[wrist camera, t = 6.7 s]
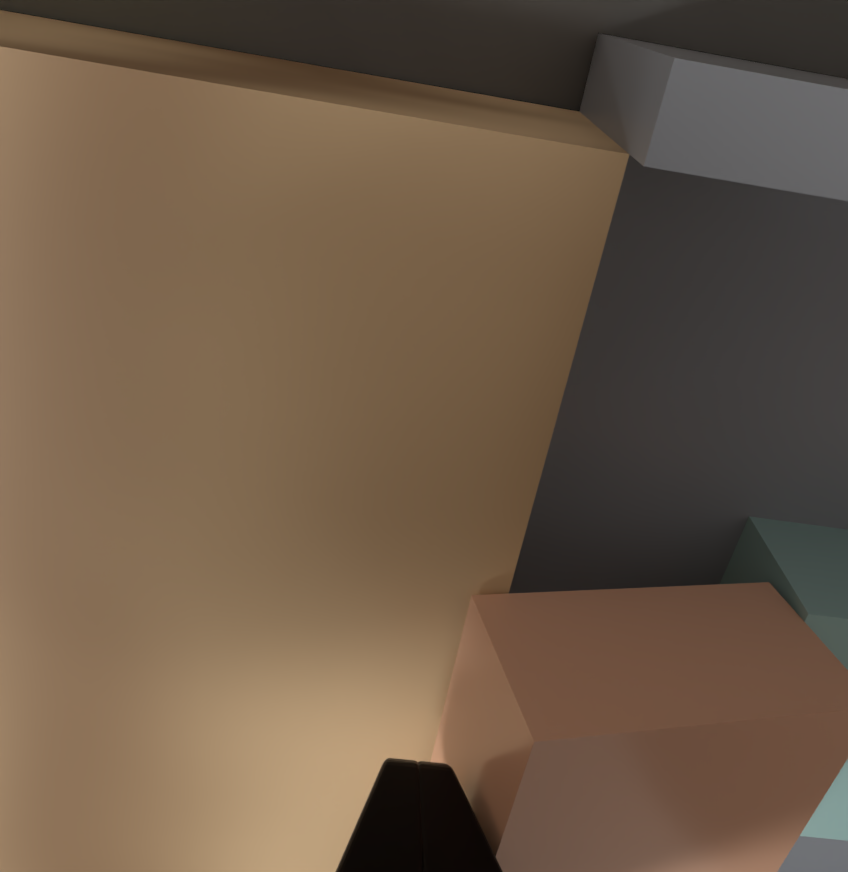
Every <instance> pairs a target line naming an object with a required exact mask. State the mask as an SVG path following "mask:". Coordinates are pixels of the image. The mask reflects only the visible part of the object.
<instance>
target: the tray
mask: <svg viewBox="0 0 848 872" xmlns="http://www.w3.org/2000/svg"><path fill="white" fill-rule="evenodd" d="M579 112H581V113H582V114H583V115H584V116H585V117H586V118H588V119H589V120H590V121H591V122H592V123H593V124H595V125H596V126H597V127H598V128H599V129H600V130H602V131H603V132H604V133H605V134H606V135H607V136H609V137H610V138H611V139H612V140H613V141H614V142H616V143H617V144H618V145H619V146H620V147H621V148H623V149H624V150H625V151H626V152H627V153H628V154H629V158H628V162H627V165H626V169H625V173H624V176H623V180H622V183H621V187H620V191H619V194H618V198H617V202H616V205H615V209H614V213H613V216H612V220H611V223H610V227H609V231H608V234H607V238H606V242H605V245H604V249H603V252H602V256H601V260H600V263H599V267H598V271H597V274H596V278H595V281H594V285H593V289H592V292H591V296H590V300H589V303H588V307H587V311H586V314H585V318H584V321H583V325H582V329H581V332H580V336H579V340H578V343H577V347H576V350H575V354H574V358H573V361H572V365H571V369H570V372H569V376H568V380H567V383H566V387H565V390H564V394H563V398H562V401H561V405H560V409H559V412H558V416H557V419H556V423H555V427H554V430H553V434H552V438H551V441H550V445H549V448H548V452H547V456H546V459H545V463H544V467H543V470H542V474H541V478H540V481H539V485H538V488H537V492H536V496H535V499H534V503H533V507H532V510H531V514H530V517H529V521H528V525H527V528H526V532H525V536H524V539H523V543H522V546H521V550H520V554H519V557H518V561H517V565H516V568H515V572H514V576H513V579H512V583H511V586H510V590H509V594H510V593H533V592H555V591H578V590H601V589H624V588H646V587H669V586H692V585H715V584H720V582H721V580H722V577H723V575H724V573H725V571H726V568H727V566H728V564H729V561H730V559H731V557H732V555H733V552H734V550H735V548H736V545H737V543H738V541H739V538H740V536H741V534H742V532H743V529H744V527H745V525H746V522H747V520H748V518H749V516H750V517H757V518H765V519H772V520H780V521H787V522H795V523H802V524H810V525H817V526H825V527H832V528H839V529H847V530H848V79H845V78H840V77H835V76H829V75H824V74H818V73H813V72H807V71H802V70H796V69H791V68H786V67H780V66H775V65H769V64H764V63H758V62H753V61H748V60H742V59H737V58H731V57H726V56H720V55H715V54H709V53H704V52H699V51H693V50H688V49H682V48H677V47H671V46H666V45H661V44H655V43H650V42H644V41H639V40H633V39H628V38H622V37H617V36H612V35H606V34H601V33H598V36H597V41H596V45H595V49H594V53H593V57H592V61H591V66H590V70H589V74H588V78H587V82H586V86H585V90H584V95H583V99H582V103H581V107H580V111H579ZM777 872H848V841H845V840H836V839H826V838H816V837H806V836H799V838H798V839H797V841H796V842H795V844H794V846H793V847H792V849H791V850H790V852H789V854H788V855H787V857H786V858H785V860H784V862H783V863H782V865H781V866H780V868H779V870H778V871H777Z"/></svg>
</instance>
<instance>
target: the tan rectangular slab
mask: <svg viewBox="0 0 848 872" xmlns="http://www.w3.org/2000/svg"><path fill="white" fill-rule="evenodd" d="M628 158H629V154H628V153H627V152H626V151H625V150H624V149H623V148H621V147H620V146H619V145H618V144H617V143H616V142H614V141H613V140H612V139H611V138H610V137H609V136H607V135H606V134H605V133H604V132H603V131H602V130H600V129H599V128H598V127H597V126H596V125H595V124H593V123H592V122H591V121H590V120H589V119H588V118H586V117H585V116H584V115H583V114H582V113H581V112H579V111H573V110H568V109H562V108H556V107H551V106H545V105H539V104H533V103H528V102H522V101H516V100H511V99H505V98H499V97H493V96H488V95H482V94H476V93H471V92H465V91H459V90H454V89H448V88H442V87H436V86H431V85H425V84H419V83H414V82H408V81H402V80H396V79H391V78H385V77H379V76H374V75H368V74H362V73H357V72H351V71H345V70H339V69H334V68H328V67H322V66H317V65H311V64H305V63H300V62H294V61H288V60H282V59H277V58H271V57H265V56H260V55H254V54H248V53H242V52H237V51H231V50H225V49H220V48H214V47H208V46H203V45H197V44H191V43H185V42H180V41H174V40H168V39H163V38H157V37H151V36H145V35H140V34H134V33H128V32H123V31H117V30H111V29H106V28H100V27H94V26H88V25H83V24H77V23H71V22H66V21H60V20H54V19H48V18H43V17H37V16H31V15H26V14H20V13H14V12H9V11H3V10H0V872H336V869H337V867H338V865H339V862H340V860H341V858H342V856H343V853H344V851H345V849H346V846H347V844H348V842H349V839H350V837H351V835H352V833H353V830H354V828H355V826H356V823H357V821H358V819H359V816H360V814H361V812H362V810H363V807H364V805H365V803H366V800H367V798H368V796H369V793H370V791H371V789H372V787H373V784H374V782H375V780H376V777H377V775H378V773H379V770H380V768H381V766H382V764H383V762H384V761H385V760H386V759H387V758H397V759H407V760H415V761H417V762H418V761H427V762H430V761H431V757H432V753H433V749H434V745H435V741H436V737H437V733H438V729H439V725H440V721H441V717H442V713H443V709H444V705H445V701H446V697H447V693H448V689H449V684H450V680H451V676H452V672H453V668H454V664H455V660H456V656H457V652H458V648H459V644H460V640H461V636H462V632H463V628H464V624H465V620H466V616H467V612H468V608H469V604H470V600H471V596H472V595H487V594H509V590H510V586H511V583H512V579H513V576H514V572H515V568H516V565H517V561H518V557H519V554H520V550H521V546H522V543H523V539H524V536H525V532H526V528H527V525H528V521H529V517H530V514H531V510H532V507H533V503H534V499H535V496H536V492H537V488H538V485H539V481H540V478H541V474H542V470H543V467H544V463H545V459H546V456H547V452H548V448H549V445H550V441H551V438H552V434H553V430H554V427H555V423H556V419H557V416H558V412H559V409H560V405H561V401H562V398H563V394H564V390H565V387H566V383H567V380H568V376H569V372H570V369H571V365H572V361H573V358H574V354H575V350H576V347H577V343H578V340H579V336H580V332H581V329H582V325H583V321H584V318H585V314H586V311H587V307H588V303H589V300H590V296H591V292H592V289H593V285H594V281H595V278H596V274H597V271H598V267H599V263H600V260H601V256H602V252H603V249H604V245H605V242H606V238H607V234H608V231H609V227H610V223H611V220H612V216H613V213H614V209H615V205H616V202H617V198H618V194H619V191H620V187H621V183H622V180H623V176H624V173H625V169H626V165H627V162H628Z"/></svg>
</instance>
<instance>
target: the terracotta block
mask: <svg viewBox="0 0 848 872" xmlns="http://www.w3.org/2000/svg"><path fill="white" fill-rule="evenodd" d="M847 759H848V670H847V669H846V668H845V667H844V666H843V664H842V663H841V662H840V661H839V660H838V659H837V658H836V657H835V655H834V654H833V653H832V652H831V651H830V650H829V649H828V648H827V646H826V645H825V644H824V643H823V642H822V641H821V640H820V639H819V637H818V636H817V635H816V634H815V633H814V632H813V631H812V630H811V628H810V627H809V626H808V625H807V624H806V623H805V622H804V621H803V620H802V618H801V617H800V616H799V615H798V614H797V613H796V612H795V611H794V609H793V608H792V607H791V606H790V605H789V604H788V603H787V602H786V600H785V599H784V598H783V597H782V596H781V595H780V594H779V593H778V591H777V590H776V589H775V588H774V587H773V586H772V585H771V584H770V582H760V583H737V584H715V585H692V586H669V587H646V588H624V589H601V590H578V591H555V592H533V593H510V594H487V595H472V596H471V600H470V604H469V608H468V612H467V616H466V620H465V624H464V628H463V632H462V636H461V640H460V644H459V648H458V652H457V656H456V660H455V664H454V668H453V672H452V676H451V680H450V684H449V689H448V693H447V697H446V701H445V705H444V709H443V713H442V717H441V721H440V725H439V729H438V733H437V737H436V741H435V745H434V749H433V753H432V757H431V761H430V762H437V763H446V764H448V765H449V766H451V767H452V769H453V770H454V772H455V774H456V776H457V778H458V780H459V782H460V784H461V786H462V788H463V790H464V793H465V795H466V797H467V799H468V801H469V803H470V805H471V807H472V809H473V811H474V813H475V815H476V817H477V819H478V821H479V824H480V826H481V828H482V830H483V832H484V834H485V836H486V838H487V840H488V842H489V844H490V846H491V848H492V850H493V852H494V855H495V857H496V859H497V861H498V863H499V865H500V867H501V869H502V871H503V872H777V871H778V870H779V868H780V866H781V865H782V863H783V862H784V860H785V858H786V857H787V855H788V854H789V852H790V850H791V849H792V847H793V846H794V844H795V842H796V841H797V839H798V838H799V836H800V834H801V833H802V831H803V830H804V828H805V826H806V825H807V823H808V822H809V820H810V818H811V817H812V815H813V813H814V812H815V810H816V809H817V807H818V805H819V804H820V802H821V801H822V799H823V797H824V796H825V794H826V793H827V791H828V789H829V788H830V786H831V785H832V783H833V781H834V780H835V778H836V777H837V775H838V773H839V772H840V770H841V769H842V767H843V765H844V764H845V762H846V761H847Z"/></svg>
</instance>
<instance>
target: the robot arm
mask: <svg viewBox="0 0 848 872" xmlns="http://www.w3.org/2000/svg"><path fill="white" fill-rule="evenodd" d="M336 872H503V871H502V869H501V867H500V865H499V863H498V861H497V859H496V857H495V855H494V852H493V850H492V848H491V846H490V844H489V842H488V840H487V838H486V836H485V834H484V832H483V830H482V828H481V826H480V824H479V821H478V819H477V817H476V815H475V813H474V811H473V809H472V807H471V805H470V803H469V801H468V799H467V797H466V795H465V793H464V790H463V788H462V786H461V784H460V782H459V780H458V778H457V776H456V774H455V772H454V770H453V769H452V767H451V766H449V765H448V764H446V763H437V762H427V761H418V762H417V761H415V760H407V759H397V758H387V759H386V760H385V761H384V762H383V764H382V766H381V768H380V770H379V773H378V775H377V777H376V780H375V782H374V784H373V787H372V789H371V791H370V793H369V796H368V798H367V800H366V803H365V805H364V807H363V810H362V812H361V814H360V816H359V819H358V821H357V823H356V826H355V828H354V830H353V833H352V835H351V837H350V839H349V842H348V844H347V846H346V849H345V851H344V853H343V856H342V858H341V860H340V862H339V865H338V867H337V869H336Z"/></svg>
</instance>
